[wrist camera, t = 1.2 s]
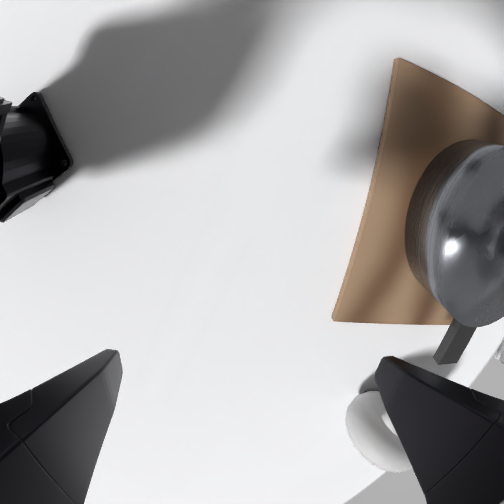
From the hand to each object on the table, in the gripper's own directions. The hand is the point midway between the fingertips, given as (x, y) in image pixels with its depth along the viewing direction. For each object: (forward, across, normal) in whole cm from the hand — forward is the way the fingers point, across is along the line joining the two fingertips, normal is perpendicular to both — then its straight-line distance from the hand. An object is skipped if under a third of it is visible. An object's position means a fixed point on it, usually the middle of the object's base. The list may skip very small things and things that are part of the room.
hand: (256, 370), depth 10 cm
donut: (+12, +15, -16) cm, 26 cm away
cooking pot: (+12, +18, +3) cm, 22 cm away
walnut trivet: (+12, +18, +3) cm, 22 cm away
